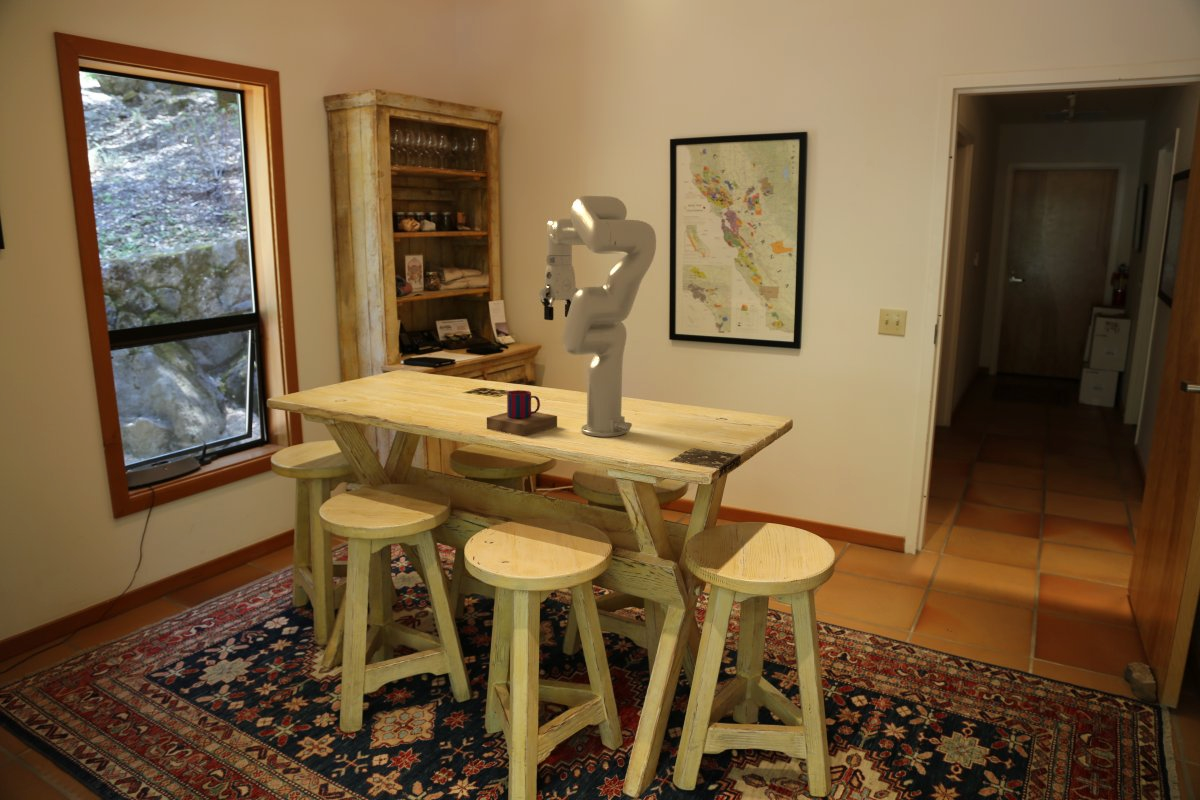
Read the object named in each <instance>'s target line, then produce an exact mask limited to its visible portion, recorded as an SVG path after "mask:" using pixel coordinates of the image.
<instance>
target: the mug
mask: <svg viewBox="0 0 1200 800" xmlns="http://www.w3.org/2000/svg"><path fill="white" fill-rule="evenodd" d="M532 398H534V399H535V401H536V408H535V410H534V411H533V412H531V411H532ZM506 405H507V406H506V413H507V416H508V417H510V418H516V419H521V418H529V417H531V414H534V413H536V412H538V411H539V410H540V406H541V402H540V399H539V397H538V396H536V395H532V392H531V391H529V390H524V389H523V390H522V389H521V390H519V389H518V390H517V389H516V390H509V391H507V392H506Z"/></svg>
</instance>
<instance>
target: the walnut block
mask: <svg viewBox="0 0 1200 800" xmlns="http://www.w3.org/2000/svg"><path fill="white" fill-rule="evenodd" d="M531 412H534V411H532V410H531ZM556 428H558V416H557V415H555V414H548V413H543V412H538V411H537V412H536V413H534V414H531V417H529V418H521V419H516V418H510V417H508V416H507V412H504V413H499V414H496V415H491V416H488V417H486V429H487V430H490V429H491V430H490V431H495V430H496V432H500V431H501V432H500V433H504V432H505V433H506V434H509V433H511V434H510V435H514V434H515V435H516V436H520V437H528V436H532V435H535V434H539V433H542V432H545V431H549V430H553V429H556ZM505 433H504V434H505Z"/></svg>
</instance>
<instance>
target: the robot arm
mask: <svg viewBox="0 0 1200 800" xmlns="http://www.w3.org/2000/svg"><path fill="white" fill-rule="evenodd" d="M627 213H628V211H627V207H626V205H625V203H624V201H622V200H621V199H619V198H618V197H616V196H615V197H614V196H610V195H609V196H607V195H606V196H605V195H582V196H581V195H580V196H579V197H577V198H576V199H575V200H574V201H573V203H572V205H571V208H570V218H557V219H549V220H548V221H547V223H546V267H545V273H544V283H543V284H544V285H543V288H542V289H541V290H540V291H539V292H538V295H539V297H540V303H542V306H543V313H544V314H543V320H546V321H554V315H555V314H554V311H555V310H554V306H553V305H554V303H555V300H556V301H565V304H564V317H565V318H566V319H565V322H564V325H563V326H564V327H563V330H562V337H561V338H562V339H561V341H562V345H563V349H564V350H565V351H566V353H568V354H569V355H573V356H575V355H576V356H583V355H594V356H593V357H592V359H591V360H590V361H589V364H588V367H587V377H586V378H587V381H586V382H587V385H586V386H587V387H586V389H587V390H586V392H587V393H586V394H587V396H586V402H587V403H586V410H587V411H586V424H583V425H582V426H581V428H580V429H581V431H580V432H581V433H582V434H583V435H587V436H591V437H606V438H607V437H617V436H622V435H624V434H626V433H628V432H629V431H630V430H631V428H632V425H633V424H632V422H627V421H626V420H625V416H622V405H623V404H622V399H623V395H622V394H623V393H622V392H623V391H622V390H623V389H622V388H623V362H624V352H625V346H626V342H627V328H626V326H625V324H624V323H623V321H625V320H627V318H628V317H629V315H630V313H631V311H632V308H633V305H634V303H635V301H636V297H637V295H638V292H639V288H640V285H641V283H642V280H643V279H644V277H645V275H646V274H647V272H648V271H649V269H650V267H651V265H652V263H653V261H654V258H655V254H656V250H657V236H656V232H655V229H654V228H653V227H652V225H650V224H649V223H648V222H645V221H643V220H638V219H626V218H627ZM573 246H586V247H587V249H588V250H589V251H591V252H592V253H595V254H600V255H604V254H605V255H608V254H609V255H610V254H611V255H612V254H613V255H614V254H615V255H617V254H618V255H619V254H620V255H621V254H623V255H624V254H625V255H624V256H623V257H622V258H620V259H619V260H618V261H617V262H616V263H615V264H614V265H613V266H612V268H611V269H610V270H609V272H608V275H607V279H606V281H605V283H604V284H603V285H601V286H586V287H581V288H580V289H578V288H577V286H576V275H575V274H576V273H575V269H574V266H573Z"/></svg>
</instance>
